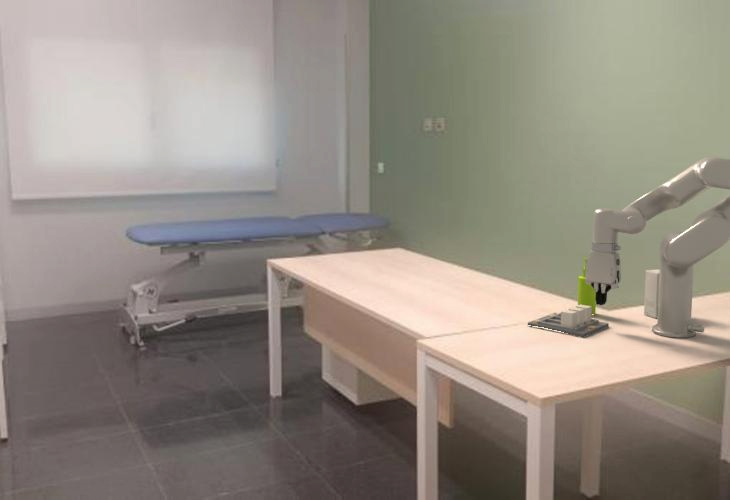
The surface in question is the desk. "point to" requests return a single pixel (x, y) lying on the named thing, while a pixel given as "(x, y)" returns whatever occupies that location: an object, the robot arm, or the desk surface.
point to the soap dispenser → (586, 291)
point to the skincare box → (651, 293)
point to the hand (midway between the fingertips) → (600, 304)
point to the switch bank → (581, 330)
